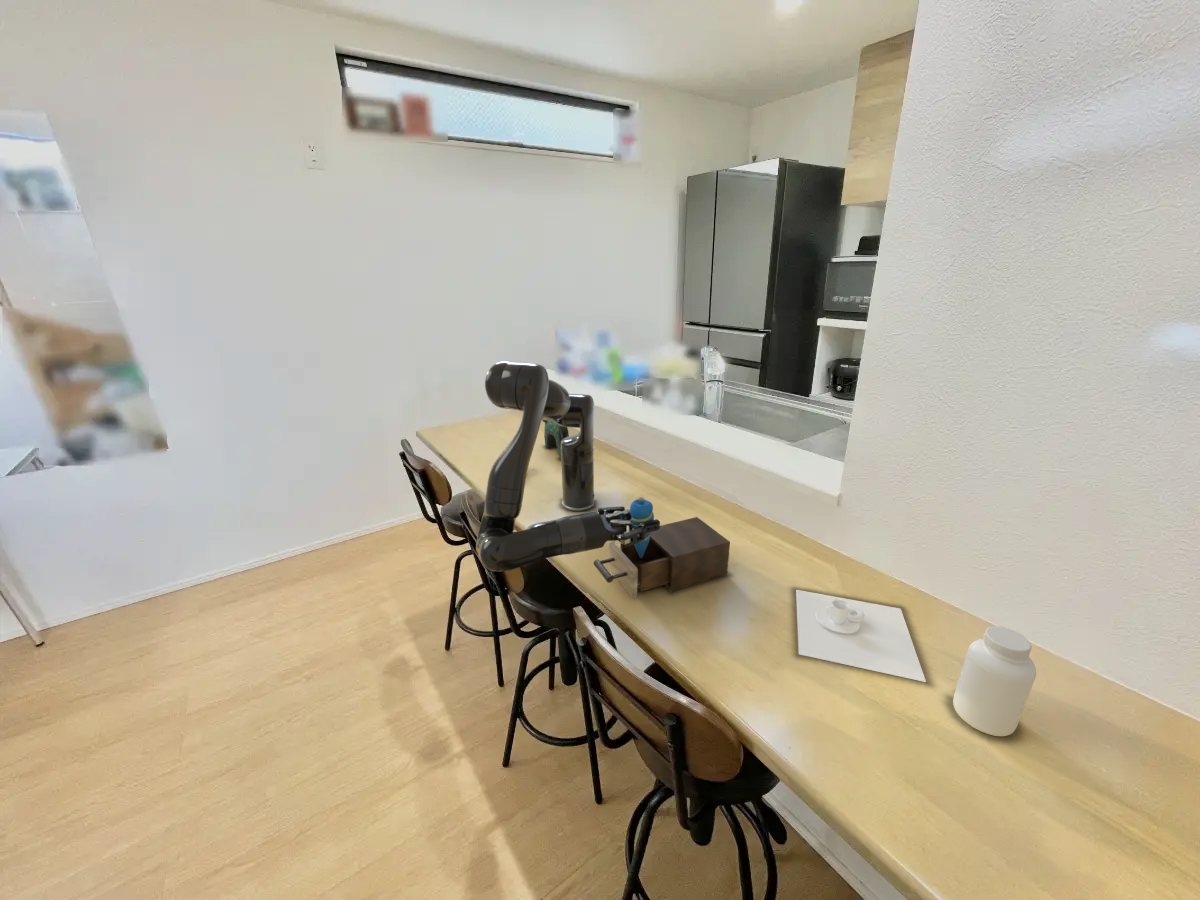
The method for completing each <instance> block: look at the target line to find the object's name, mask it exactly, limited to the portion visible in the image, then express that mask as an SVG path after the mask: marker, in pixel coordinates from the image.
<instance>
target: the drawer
mask: <svg viewBox="0 0 1200 900" xmlns="http://www.w3.org/2000/svg"><path fill="white" fill-rule="evenodd" d="M604 564H608V569H607V568H606V566H604ZM593 565H594V567H595V568H596V569H597V571H598V572H599V573H600V574H601V576H602V577H603V578H604V580H605V581H606V582H607V583H612V582H613V580H615V579H616V580H617V581H618V583H619V584H620V585H621V586H622V587H623V588H624V590H625V591H626V592H627V594H628V595H629V596H630V597H631V598H632V599H634V598H637V597H638V590H640V591H641V592H644V591H648V590H651V589H654V588H657V587H661V586H665V584H668V583H670V567H671V558H670V557H669V556H668V555H667V554H666V553H664V552H663V551H662V550H661V549H660V548H659V547H658V546H657V545H656V544H655V543H654V542H653V541H652V540H651V539H650V540H649V543H648V545H647V548H646V550H645V553H644V555H643V557H642V558H640V557H639V555H638V552H637V550H636V548H635V545H634V544H633V545H631V546H628V547H626V548H622V547H621V546H620V547H619V546H618V545H617V544H616V543H615V541H611V542H608V558H605V559H603V560H600V559H598V558H597V559H594V561H593ZM608 570H609V571H608ZM610 572H611V573H610Z"/></svg>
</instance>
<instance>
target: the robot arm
mask: <svg viewBox="0 0 1200 900" xmlns="http://www.w3.org/2000/svg"><path fill="white" fill-rule="evenodd" d="M484 379H485V380H484V388H485V393H486V396H487V398H488V400H489V401H490V402H491V404H493V405H494V406H495V407H497V408H499V409H504V410H511V411H519V412H522V418H521V421H520V424H519V427H518V429H517V431H516V433H515V434H514V436H513V437H512V439H511V441H510V442H509V443H508V445H507V446H506V447H505V449H503V451H502V452H501V453H500V454H499V455H498V457H497V458H496V460H495V461H494V463H493V465H492V467H491V468H490V471H489V474H488V478H487V484H486V489H485V497H484V509H483V513H482V517H481V520H480V525H479V528H478V531H477V536H476V543H475V551H476V554H477V556H478V559H479V561H480V562H481V564H482V565H483V567H484V568H486V569H487V570H488V571H492V572H497V573H498V572H499V573H500V572H507V571H512V570H515V569H518V568H520V567H523V566H525V565H526V566H527V565H529V564H531V563H533V562H536V561H538V560H544V559H548V558H553V557H558V556H559V557H560V556H564V555H574V554H579V553H583V552H587V551H592V550H597V549H602V548H603V547H605V545H606V543H607V542H616V541H617V542H619V543H620V548H621V547H622V548H626V547H628V546H631V545H633V544H636V543H638V542H641V541H643V540H645V533H647V532H652V531H656V530H659V528H660V526H661V521H660V520H659V519H657V518H654V519H653V520H650V521H645V522H643V523H633V522H632V521H631V518H632V517H631V514H630V508H629V509H628V508H627V509H626V507H625V506H622V505H621V506H605V507H604V506H603V507H597V511H589V512H584V513H578V514H572V515H567V516H562V517H559V518H557V519H553V520H546V521H542V522H537V523H533V524H531V525H528V527H527V528H526V529H522V530H517V531H514V530H515V525H516V520H517V519H518V517H519V516H520V515H521V511H522V507H523V500H524V493H525V488H526V482H527V481H526V480H527V475H528V470H529V466H530V462H531V457H532V454H533V451H534V448H535V444H536V441H537V438H538V434H539V431H540V427H541V423H542V421H543V420H542V419H544V420H548V421H553V422H555V423H556V424H557V425H560V426H563V427H567V428H577V429H578V428H579V432H577V433H575V434H571V435H569V436H568V437H566V438H564V439H563V440H562V441H561V460H560V462H561V464H560V465H561V487H562V488H561V489H562V490H561V491H562V501H561V502H562V507H563V508H564V509H566V510H569V511H573V512H583V511H587V510H589V509H590V510H591V508H593V507H594V506H595V476H594V475H595V474H594V473H595V472H594V465H595V463H594V461H595V460H594V427H595V426H594V423H595V422H594V421H595V402H594V398H593V397H592V395H591V394H584V393H569V391H568V390H567V389H566V388H565V386H563V385H562V384H560V383H559V382H556V381H554V379H553V380H552V379H550V377H549V373H548V371H547V369H546V367H545V366H544V365H542V364H538V363H532V362H521V361H513V360H512V361H511V360H503V361H498V362H496V363H494V364H492V366H491V367H490V368H489V369H488V371H487V373H486V375H485V378H484ZM556 448H557V450H558V445H557V442H556ZM634 527H638V528H637V529H635V530H633V528H634ZM627 528H628V529H627ZM627 530H628V531H627ZM637 536H638V537H637Z"/></svg>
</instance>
